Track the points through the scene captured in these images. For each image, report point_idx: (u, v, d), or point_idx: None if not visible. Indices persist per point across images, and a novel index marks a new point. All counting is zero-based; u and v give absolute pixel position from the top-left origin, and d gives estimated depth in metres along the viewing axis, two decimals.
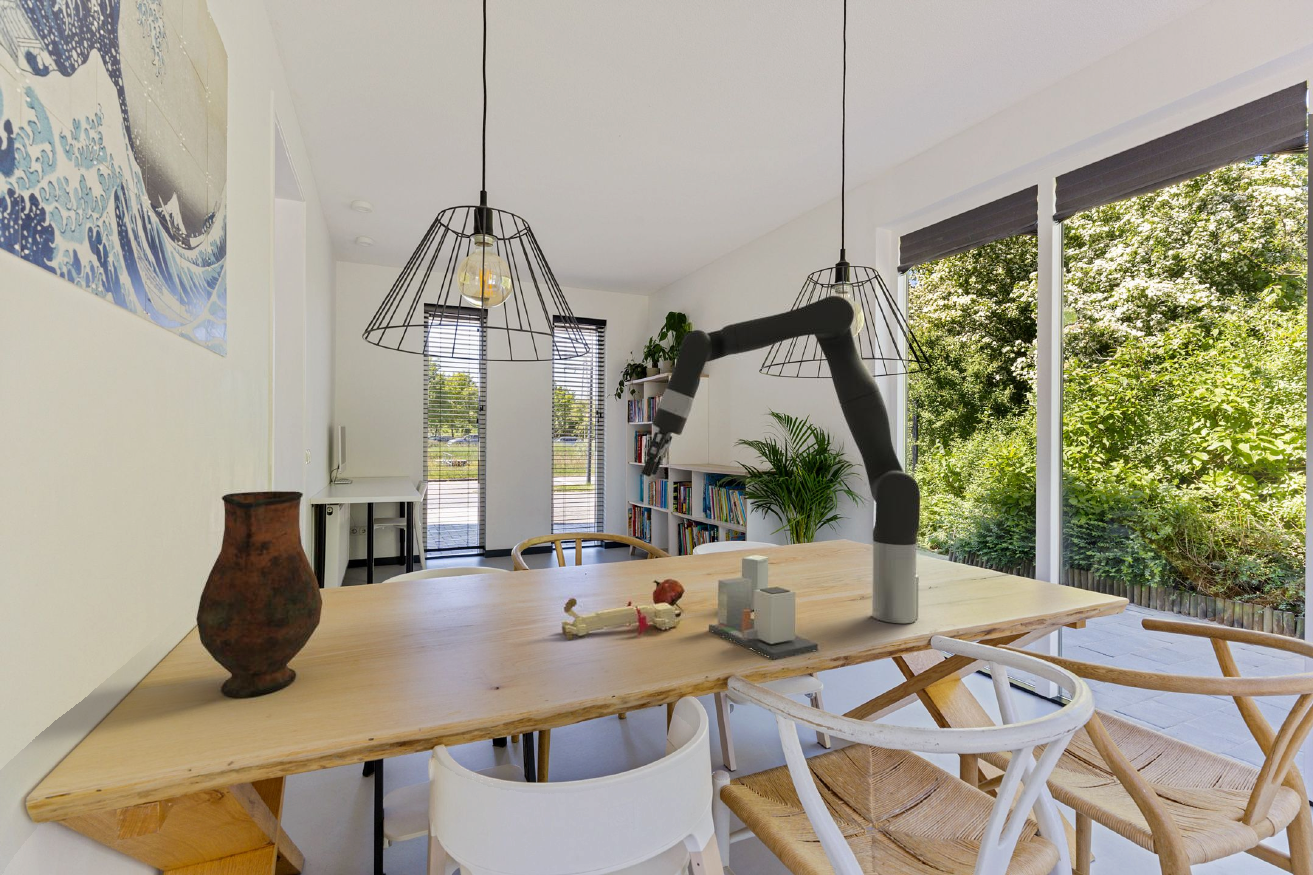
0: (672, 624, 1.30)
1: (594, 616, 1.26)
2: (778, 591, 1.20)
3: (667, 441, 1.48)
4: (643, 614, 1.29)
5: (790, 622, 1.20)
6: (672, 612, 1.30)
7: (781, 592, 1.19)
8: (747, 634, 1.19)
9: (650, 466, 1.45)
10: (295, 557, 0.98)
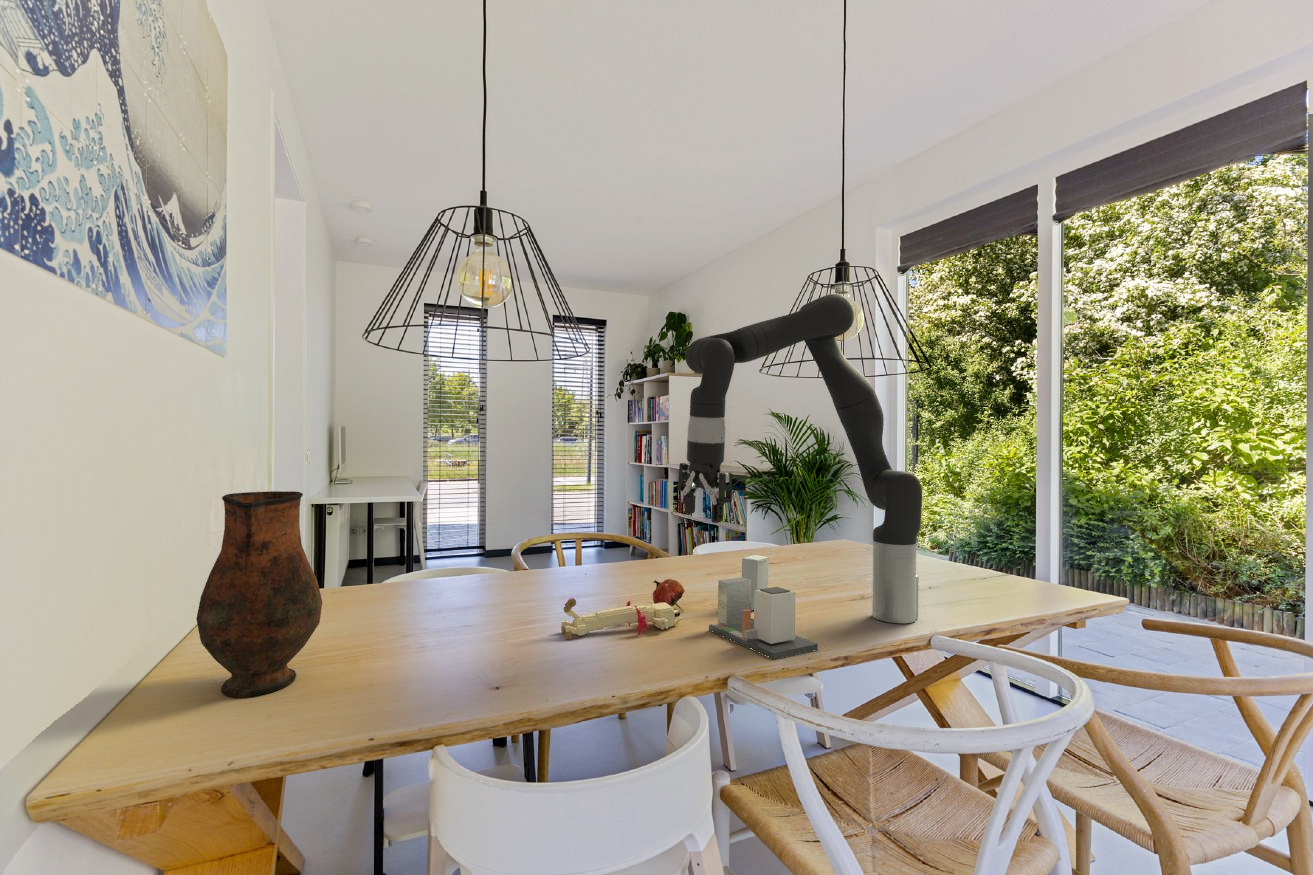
0: (671, 624, 1.30)
1: (594, 616, 1.26)
2: (778, 591, 1.20)
3: None
4: (642, 614, 1.29)
5: (790, 622, 1.20)
6: (671, 612, 1.30)
7: (781, 592, 1.19)
8: (747, 634, 1.19)
9: (722, 511, 1.23)
10: (295, 557, 0.98)
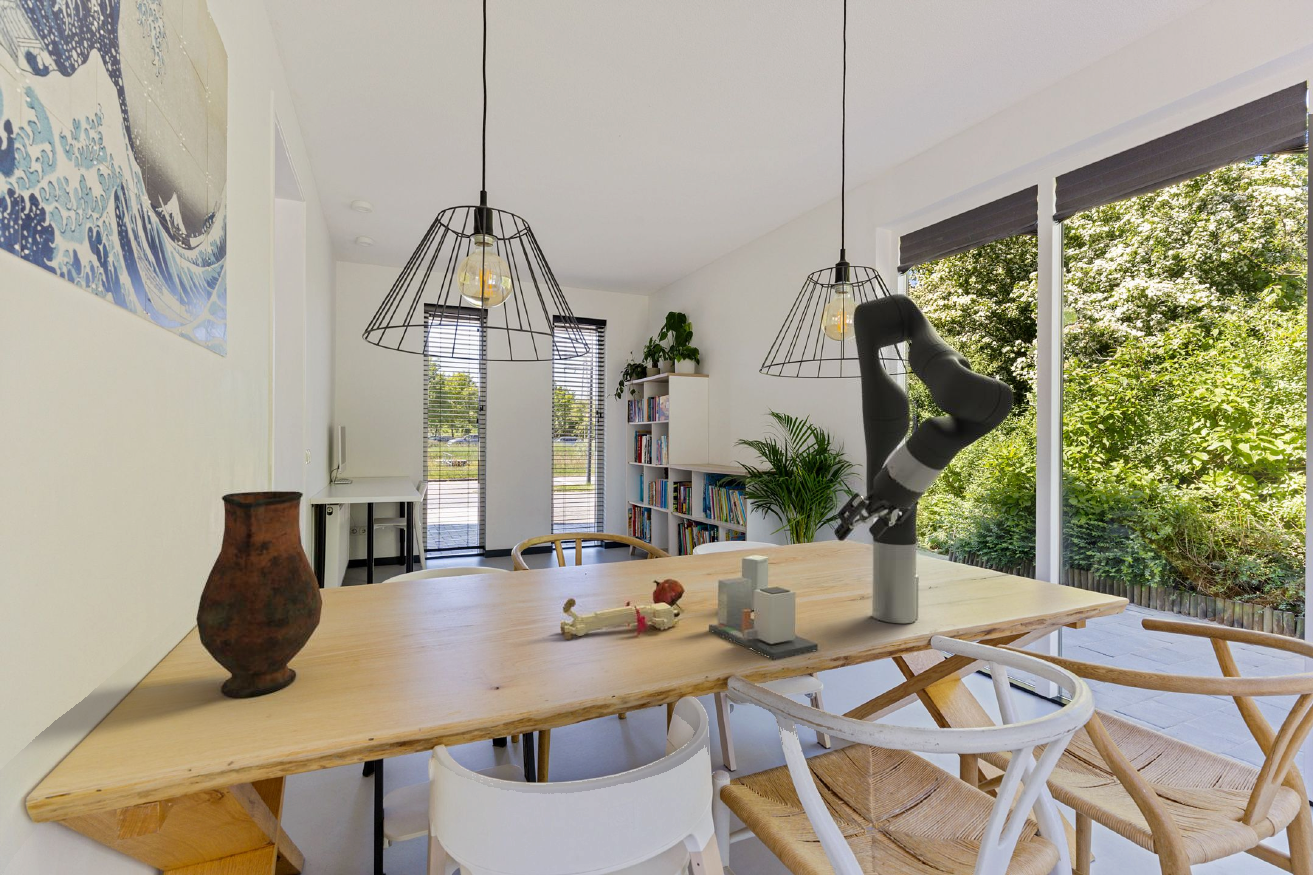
0: (671, 624, 1.30)
1: (593, 616, 1.26)
2: (778, 591, 1.20)
3: None
4: (642, 614, 1.29)
5: (790, 622, 1.20)
6: (671, 612, 1.30)
7: (781, 592, 1.19)
8: (747, 634, 1.19)
9: None
10: (295, 557, 0.98)
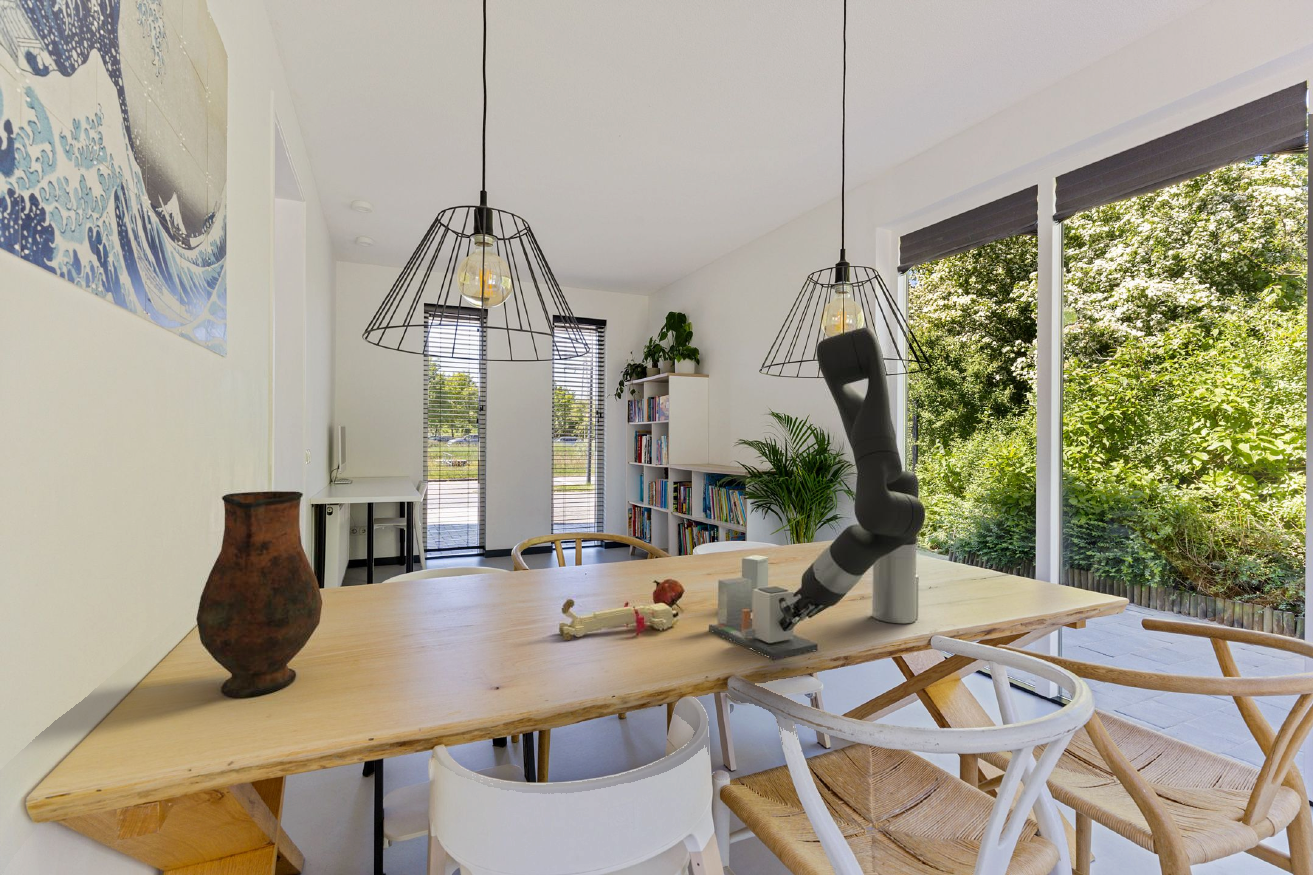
0: (669, 624, 1.30)
1: (592, 617, 1.26)
2: (776, 590, 1.20)
3: None
4: (641, 614, 1.29)
5: None
6: (669, 612, 1.30)
7: (779, 591, 1.20)
8: (745, 633, 1.20)
9: None
10: (295, 557, 0.98)
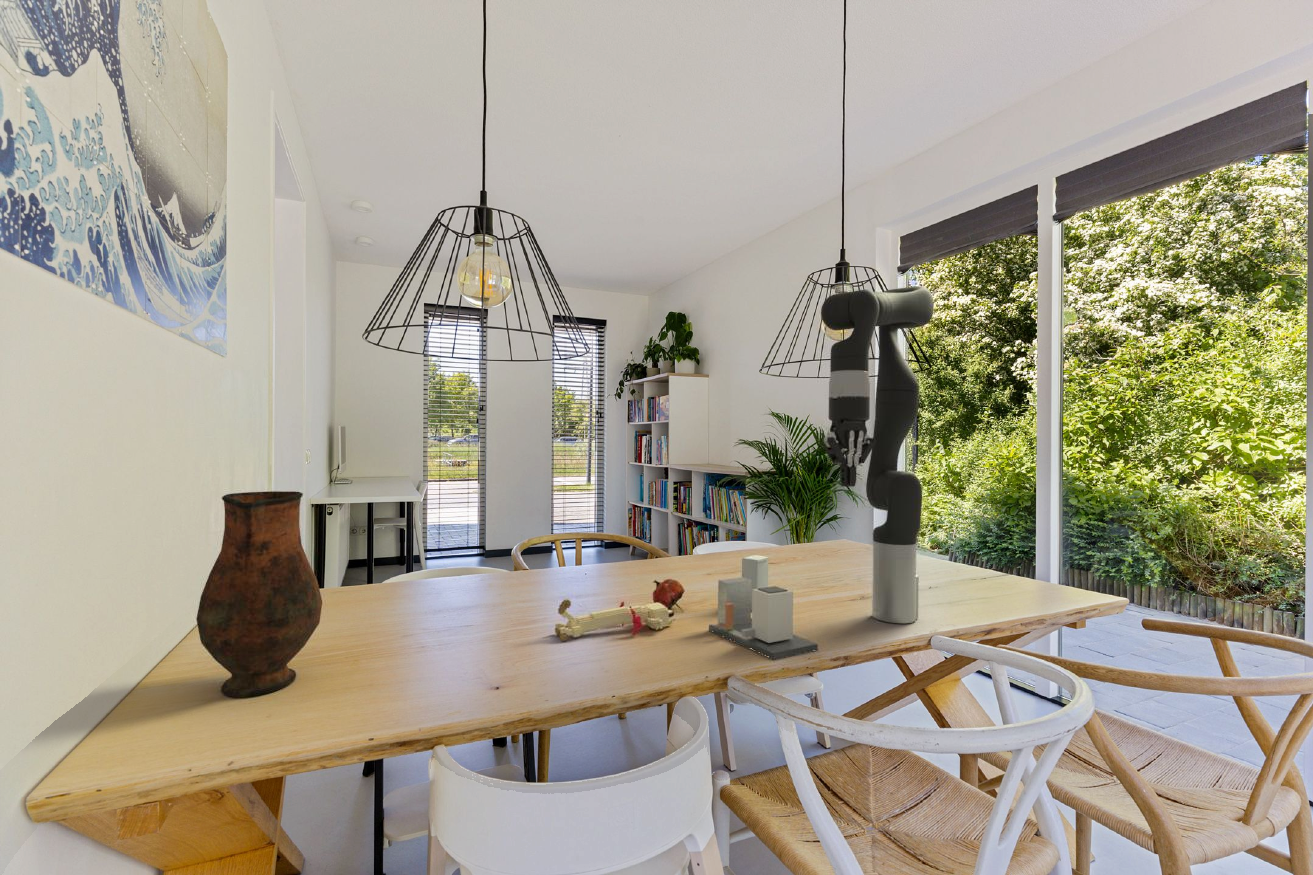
0: (665, 624, 1.30)
1: (588, 617, 1.25)
2: (776, 590, 1.20)
3: None
4: (637, 614, 1.29)
5: (788, 621, 1.20)
6: (666, 612, 1.30)
7: (779, 591, 1.20)
8: (745, 633, 1.20)
9: None
10: (295, 557, 0.98)
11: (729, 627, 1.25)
